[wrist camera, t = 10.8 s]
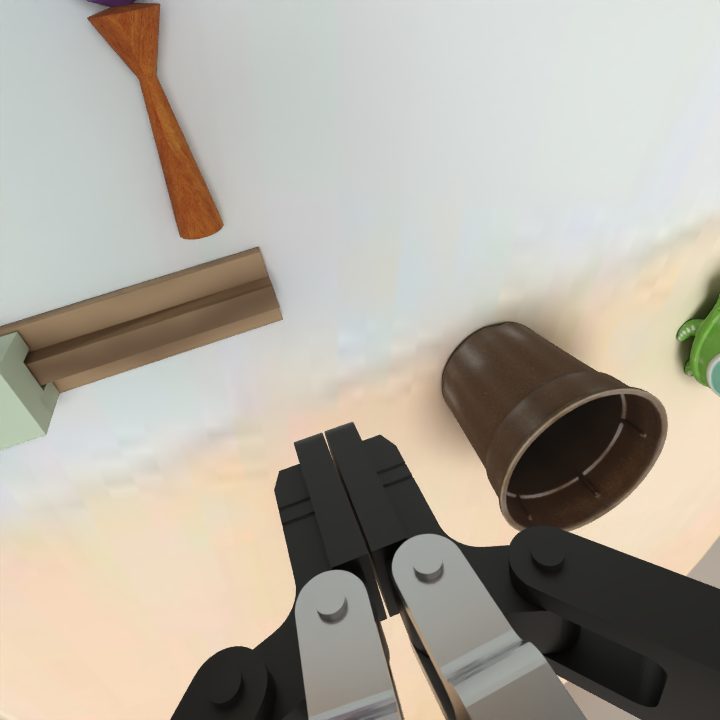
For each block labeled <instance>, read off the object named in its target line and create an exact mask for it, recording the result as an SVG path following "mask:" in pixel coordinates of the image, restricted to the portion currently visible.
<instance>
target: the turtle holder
mask: <svg viewBox="0 0 720 720" xmlns="http://www.w3.org/2000/svg"><path fill="white" fill-rule="evenodd" d="M691 336H695V339H694V342H693V345H692V348H691V353H690V360H688V361H687V363H686V365H685V373H686V374H687V375H688V376H693V375H694V377H695V378H696V380H697V381H698V382H699V383H701V384H702V385H704V386H707V387H709V388H710V389H712V391H713V392H714V393H716V394H717V395H718V396H720V294H719V298H718V301H717V303H716V305H715V306H714V308H713V309H712V311H711V312H710V313H709V315H708V316H707V317H706V319H705V320H703V319H694V320H690V321H688V322H686V323H685V324H684V325H683V326H682V327H681V328H680V330H679V332H678V336H677V339H678V340H679V341H684V340H686V339H688V338H689V337H691Z"/></svg>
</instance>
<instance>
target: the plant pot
mask: <svg viewBox="0 0 720 720" xmlns="http://www.w3.org/2000/svg"><path fill="white" fill-rule="evenodd" d="M443 383H444V385H443V396H444V399H445V401H446V403H447V405H448V406H449V408H450V409H451V411H452V413H453V414H454V416H455V418H456V419H457V421H458V423H459V424H460V426H461V428H462V429H463V431H464V433H465V434H466V436H467V438H468V439H469V441H470V443H471V445H472V446H473V448H474V450H475V451H476V453H477V455H478V456H479V458H480V460H481V462H482V463H483V465H484V467H485V468H486V472H487V476H488V479H489V481H490V483H491V485H492V487H493V489H494V490H495V492H496V494H497V496H498V498H499V505H500V509H501V512H502V514H503V516H504V518H505V519H506V521H507V522H508V523H509V525H510V526H512V527H513V528H514V529H516V530H518V531H520V532H521V531H522V530H524V529H526V528H529V527H533V526H540V525H541V526H552V527H556V528H559V529H562V530H564V531H567V532H568V531H571V530H574V529H577V528H580V527H582V526H584V525H586V524H589V523H590V522H592V521H594V520H596V519H598V518H600V517H601V516H603V515H604V514H606V513H607V512H609V511H610V510H612V509H613V508H615V507H616V506H617V505H619V504H620V503H621V502H622V501H623V500H624V499H626V498H627V497H628V496H629V495H630V494H631V493H632V492H633V491H634V490H635V489H636V488H637V487H638V486H639V484H640V483H641V482H642V481H643V480H644V478H645V477H646V476H647V474H648V473H649V472H650V470H651V469H652V467H653V466H654V464H655V462H656V461H657V459H658V457H659V455H660V453H661V451H662V449H663V446H664V443H665V440H666V436H667V428H668V421H667V414H666V411H665V408H664V406H663V405H662V403H661V402H660V401H659V400H658V399H657V398H656V397H655V396H653V395H652V394H650V393H649V392H647V391H644V390H642V389H639V388H635V387H629V386H628V385H626V384H624V383H622V382H621V381H619V380H617V379H616V378H614V377H612V376H610V375H608V374H605V373H602V372H597V371H596V370H594V369H593V368H591V367H589V366H588V365H586V364H584V363H583V362H581V361H579V360H578V359H576V358H574V357H573V356H571V355H570V354H568V353H566V352H565V351H563V350H562V349H560V348H558V347H557V346H555V345H554V344H552V343H551V342H549V341H548V340H546V339H544V338H543V337H541V336H540V335H538V334H537V333H535V332H534V331H532V330H531V329H529V328H528V327H526V326H524V325H521V324H518V323H509V322H508V323H504V324H502V325H499V326H493V327H485V328H483V329H481V330H479V331H478V332H476V333H475V334H473V335H472V336H470V337H469V338H468V339H467V340H465V341H464V342H463V343H462V344H461V345H460V346H459V348H458V349H457V350H456V351H455V352H454V354H453V355H452V357H451V358H450V360H449V362H448V364H447V366H446V368H445V371H444V374H443Z"/></svg>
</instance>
